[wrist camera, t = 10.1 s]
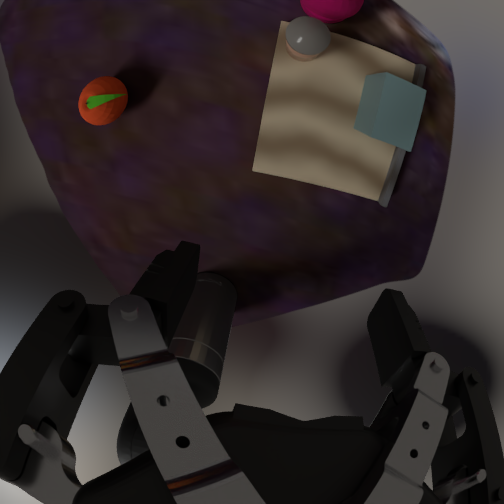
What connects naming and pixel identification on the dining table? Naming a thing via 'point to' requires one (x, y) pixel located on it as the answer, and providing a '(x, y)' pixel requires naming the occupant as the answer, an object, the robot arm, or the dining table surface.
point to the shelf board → (329, 119)
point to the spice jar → (306, 38)
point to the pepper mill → (331, 9)
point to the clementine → (103, 100)
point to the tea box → (390, 109)
